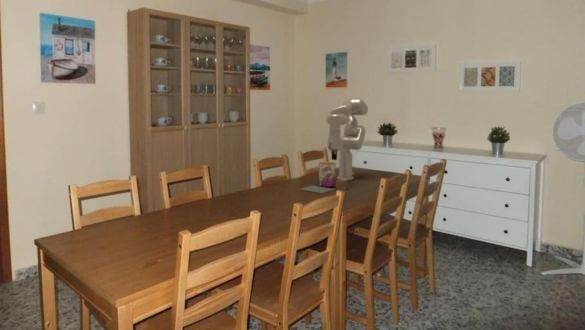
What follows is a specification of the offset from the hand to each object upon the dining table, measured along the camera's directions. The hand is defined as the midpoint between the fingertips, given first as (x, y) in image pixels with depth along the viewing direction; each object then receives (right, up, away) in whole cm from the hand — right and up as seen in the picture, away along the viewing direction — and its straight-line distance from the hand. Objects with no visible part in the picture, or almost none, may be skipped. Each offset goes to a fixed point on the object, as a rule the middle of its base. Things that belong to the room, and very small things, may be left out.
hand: (334, 159), depth 303 cm
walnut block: (+4, -20, -10) cm, 22 cm away
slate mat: (-12, -20, -13) cm, 27 cm away
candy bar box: (-5, -18, -4) cm, 20 cm away
